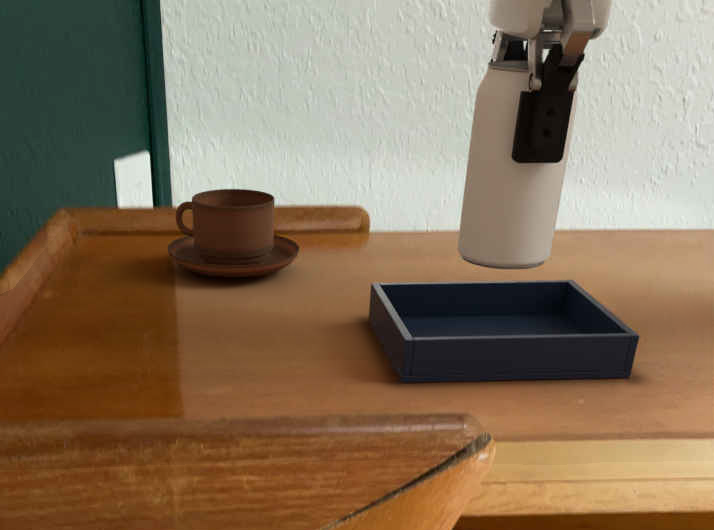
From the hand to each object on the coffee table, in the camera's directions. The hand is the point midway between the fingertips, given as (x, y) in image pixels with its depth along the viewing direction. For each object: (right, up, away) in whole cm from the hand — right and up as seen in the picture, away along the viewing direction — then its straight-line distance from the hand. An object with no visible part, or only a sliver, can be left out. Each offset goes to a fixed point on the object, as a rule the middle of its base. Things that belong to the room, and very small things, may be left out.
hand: (519, 149), depth 64 cm
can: (0, -6, +4) cm, 7 cm away
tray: (0, -11, +8) cm, 14 cm away
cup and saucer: (-20, +1, +25) cm, 32 cm away
